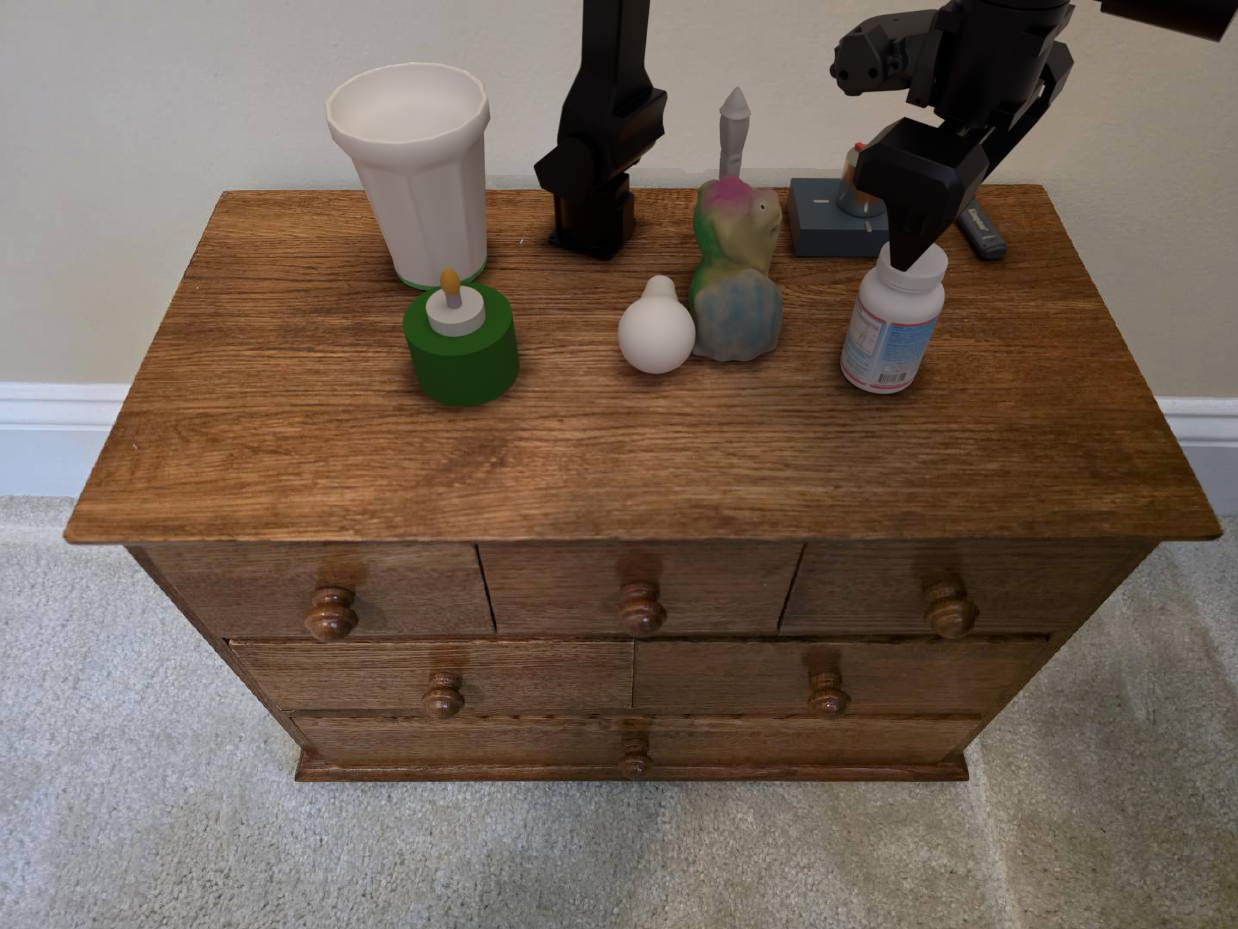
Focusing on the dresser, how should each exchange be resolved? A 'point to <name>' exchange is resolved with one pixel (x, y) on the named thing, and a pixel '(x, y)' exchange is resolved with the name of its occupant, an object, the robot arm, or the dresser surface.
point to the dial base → (830, 222)
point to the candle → (462, 342)
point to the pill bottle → (893, 322)
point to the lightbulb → (656, 329)
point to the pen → (733, 132)
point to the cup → (419, 163)
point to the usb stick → (982, 232)
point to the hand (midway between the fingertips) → (927, 234)
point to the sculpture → (735, 271)
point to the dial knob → (853, 198)
